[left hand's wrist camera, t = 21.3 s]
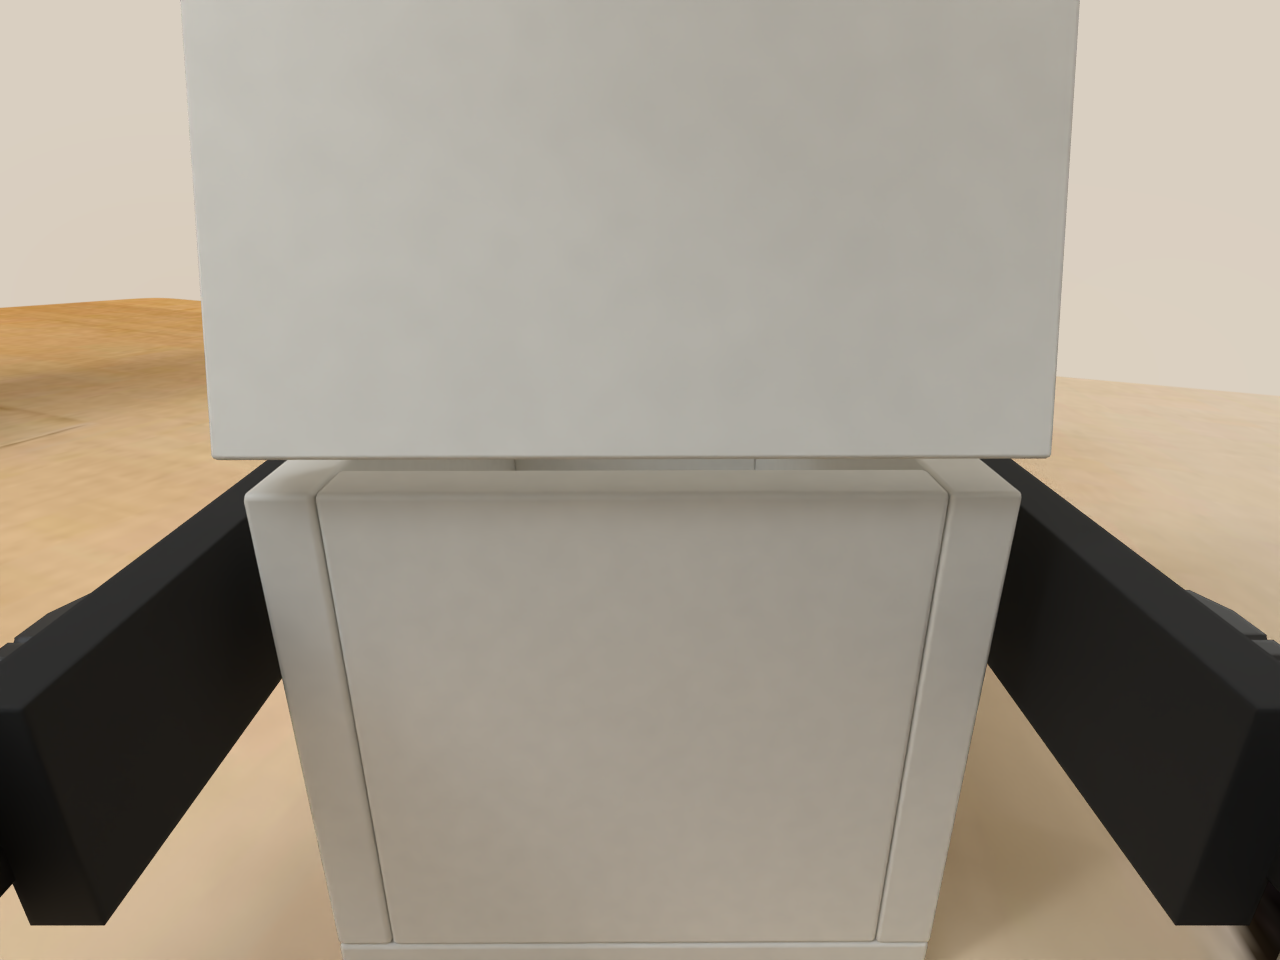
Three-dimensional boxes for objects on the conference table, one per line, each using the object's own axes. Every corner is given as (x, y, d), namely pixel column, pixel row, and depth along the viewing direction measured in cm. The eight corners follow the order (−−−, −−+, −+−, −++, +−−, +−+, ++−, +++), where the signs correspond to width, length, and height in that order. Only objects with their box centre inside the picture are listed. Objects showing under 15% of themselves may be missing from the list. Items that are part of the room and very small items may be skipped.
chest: (499, 555, 26) (480, 302, 23) (770, 554, 26) (789, 302, 23) (345, 983, 12) (239, 495, 9) (922, 980, 12) (1024, 493, 9)
